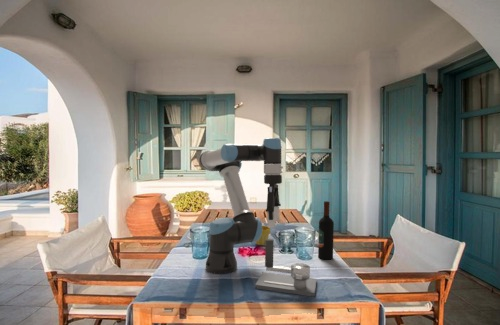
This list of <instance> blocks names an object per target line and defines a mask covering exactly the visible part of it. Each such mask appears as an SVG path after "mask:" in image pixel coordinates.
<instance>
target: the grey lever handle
mask: <svg viewBox="0 0 500 325" xmlns="http://www.w3.org/2000/svg"><path fill="white" fill-rule="evenodd" d="M264 249H265V250H264V251H265V252H264V266H265V269H266V272H273V273H274V272H276V273H284V274H289V275H290V276H291V277H292V278H293V279H295V280H300V281H304V280H308V279H309V278H311V266H309V265H308V264H306V263H301V262H298V263H297V262H296V263H292V264H291V265H290V267H288V266H282V265H274V239H271V238H268V239H266V240H265V245H264Z"/></svg>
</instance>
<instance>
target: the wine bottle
mask: <svg viewBox="0 0 500 325" xmlns="http://www.w3.org/2000/svg"><path fill="white" fill-rule="evenodd" d="M330 203H331V202H330V201H324V202H323V216H322V217H321V218H320V219H319V222H318V246H317V247H318V248H317V249H318V250H317V251H318V252H317V256H318V259H319V260H321V261H326V262H327V261H328V262H329V261H333V259H334V233H335V232H334V231H335V230H334V227H335V226H334V220H333V218H331V217H330Z"/></svg>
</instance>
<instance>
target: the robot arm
mask: <svg viewBox="0 0 500 325" xmlns="http://www.w3.org/2000/svg"><path fill="white" fill-rule="evenodd" d="M262 161H263V174H264V176H263V181H264V182H263V183H264V184H266V185H269V186H267V197H266V208H265V212H267V226H268V228H270V229H275V228H276V222H280V207H281V202H280V195H279V194H280V193H279V184H280V185H281V184H282V183H283V178H282V177H283V176H282V169H283V168H284V166H282V142H281V139H280V138H279V137H267V138H266V137H265V138H264V139H263V142H262V143H261V144H258V143H253V144H252V143H245V144H244V143H224V144H222V147H221V148H219V149H215V150H205V151H203V152H202V153H201V154H200V155H199V158H198V162H199V166H200V167H201V168H202V169H203V170H205V171H209V172H218V173H219V176H220V177H221V178H223V181H224V184H225V188H226V191H227V195H228V198H229V203H230V206H231V209H232V210H231V211H232V214H233V217H229V216H228V217H219V218H216V219H214V220H212V221H211V222H210V223H209V230H208V233H209V238H208V239H209V243H208V245H209V246H208V248H209V253H208V256H207V258H206V262H205V270H206V271H207V272H209V273H211V274H215V275H216V274H217V275H224V274H225V275H226V274H229V273H232V272H235V271H236V270H238V262H237V261H238V260H237V259H236V258H237V257H236V255H235V251H234V250H235V249H234V246H235V245H240V244H241V245H242V244H246V243H253V242H256V241H257V240H259V239H260V237H261V235H262V226H263V223H262V220H261V219H260V218H259V217H257V216H256V217H255V214H254V212H253V211H251V210H250V207H249V204H248V200H247V196H246V194H245V190H244V186H243V183H242V181H241V178H240V173H239V172H240V171H241V168H242V162H262Z"/></svg>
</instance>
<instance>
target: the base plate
mask: <svg viewBox="0 0 500 325" xmlns="http://www.w3.org/2000/svg"><path fill="white" fill-rule="evenodd" d="M254 285H255V286H254V288H255V289H258V290H266V291H272V292H278V293H279V292H280V293H287V294H294V295H299V296H307V297H308V296H309V297H315V295H316V289H317V288H316V287H317V278H314V277H310V278H309V279H308V280H304V281H300V280H295V279H293V278H292V277H291V274H281V273H274V272H272V273H271V272H267V271H266V272H264V271H262V272H261V274H260V276H259V278H258V280H257V281H256V283H255V284H254Z"/></svg>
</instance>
